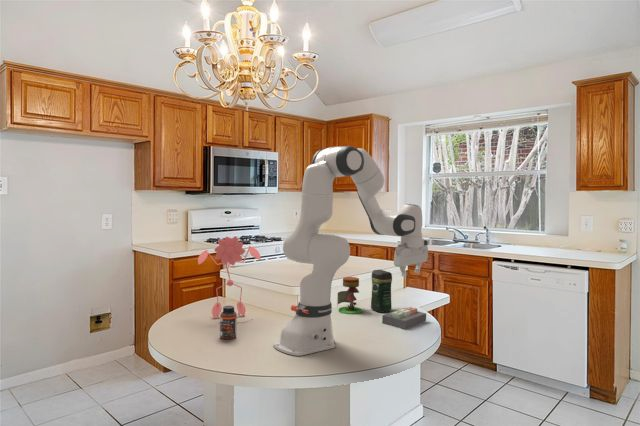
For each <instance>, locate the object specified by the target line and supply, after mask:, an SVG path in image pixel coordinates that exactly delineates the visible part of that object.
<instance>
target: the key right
mask: <svg viewBox="0 0 640 426" xmlns="http://www.w3.org/2000/svg"><path fill="white" fill-rule="evenodd" d="M405 309H406V310H410V311H411V314H416V313H417V311H418V308H417V307H413V306H409V307H405Z"/></svg>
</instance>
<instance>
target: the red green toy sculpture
mask: <svg viewBox="0 0 640 426" xmlns="http://www.w3.org/2000/svg"><path fill="white" fill-rule="evenodd" d="M359 286H360V278H359V277H355V276H346V277H345V276H344V277H343V278H342V287H344V288H348V289H347V290H343V291H338V292H337V299H336V301H337V303H336V304H337V307H339V305H340V304H341V303H348V304H347V306H342V307H339V308H338V312H339V313H342V314H347V315H355V314H356V315H357V314H361V313H363V309H362V308H360V307H358V306H357V305H358V304H357V302H356V301H357V297H356V296H355V295H354V294H355V293H356V294H359V293H360V291H359V289H358V287H359Z"/></svg>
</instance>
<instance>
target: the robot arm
mask: <svg viewBox="0 0 640 426" xmlns="http://www.w3.org/2000/svg"><path fill="white" fill-rule="evenodd" d="M341 177H350V178H351V180H352V181H353V183H354V184H355V186H356V188H357V189H356V192H357V195H358V199H359V201H360V202H361V204H362V206H363V209H364V212H365V214H366V216H367V217H368V220H369V224H370V229H371V230H372V232H373V233H375V234H376V235H383V236H384V235H385V236H393V237H394V236H395V237H400V243H399V244H398V245H397V246H396V247H395V251H394V257H393V265H394V267H399V270H400V272H401V277H407V276H408V272H407V271H406V268H407V267H408V266H412V265H415V268H414V270H413V271H414V274H420V273H421V268H422V265H423V263H425V262H427V261H428V258H429V244H430V241H429V240H428V239H425V238H423V232H422V228H423V211H422V208H421V206H420V205H418V204H417V205H416V204H412V203H404V204H403V205H402V207H401V208H400V209H398V210H397V211H396V212H390V211H385V210H384V209H382V208H381V207H380V205H379V202H378V200H377V198H376V195H377V194H378V193H379V192H381V190H382V189H383V187H384V183H385V178H384V175H383V173H382V171H381V169H380V168H379V166H378V164H377V163H376V161H375V160H374V158H373V157H372V156H371V154H369V152H368V151H367V150H365V149H364V148H361V147H358V148H357V147H355V146H350V145H344V146H338V145H337V146H330V147H327V148H322V149H319V150H318V151H316V152H315V154H314V155H313V156H312V159H311V163H310V165H308V166H307V167H306V168H305V170H304V175H303V180H302V185H301V186H302V187H301V189H302V190H301V203H300V204H301V205H300V215H299V216H300V217H299V220H298V223H297V225H296V226H295V228H294V230H293V231H292V232H291V233H290V234H288V235H287V236H286V237H285V239H284V241H283V245H282V250H283V251H282V252H283V253H284V256H285V258H286V259H288V260H291V261H292V262H296V263H300V264H311V265H312V266H313V267H312V268H313V269H312V271H311V273H309V274H307V275H305V276H304V277H302V278H301V281H300V283H299V302H298V304H297V305H296V304H295V305H294V304H291V306H290V310H291V311H293V312H295V314H294V315H293V316H292V317H291V318H290V320H289V321H287V323H285V325H284V326H283V327H282V329H281V332H280V339H279V340H276V341H275V342H273V345H272V346H273V347H274V348H275V350H277V351H280V352H282V353H285V354H287V355H291V356H296V357H297V356H298V357H299V356H305V355H310V354H313V353H318V352H323V351H327V350H330V349H335V347H336V346H335V338H334V334H333V325H332V324H333V323H332V318H331V314H332V309H333V307H332V305H333V304H332V301H331V297H332V296H331V294H332V293H331V292H332V282H333V279H334V277H335V275H336V273H337V271H338V270H339V268H341V267H342V266H343V265H345V264H346V263H347V262H348V260H349V258H350V255H351V246H350V243H349V242H348V240H347V238H345V237H342V236H339V235H336V234H327V233H319V231H320V227H321V226H322V225H323V224H324V223H327V222H329V220H330V219H331V218H332V216H333V202H334V199H333V197H334V195H333V194H334V189H333V188H334V187H333V183H334V181H335V178H341Z"/></svg>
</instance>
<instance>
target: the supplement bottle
mask: <svg viewBox="0 0 640 426" xmlns="http://www.w3.org/2000/svg"><path fill="white" fill-rule="evenodd" d="M237 315H238V313H237V312H236V311H235V306H234V305H224V306H222V312H220V314H219V316H220V317H219V319H220V321H219V323H220V324H219V337H220V338H221V339H223V340H232V339H235V338H236V337H237V324H238V322H237V321H238V320H237V319H238V318H237V317H238V316H237Z"/></svg>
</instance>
